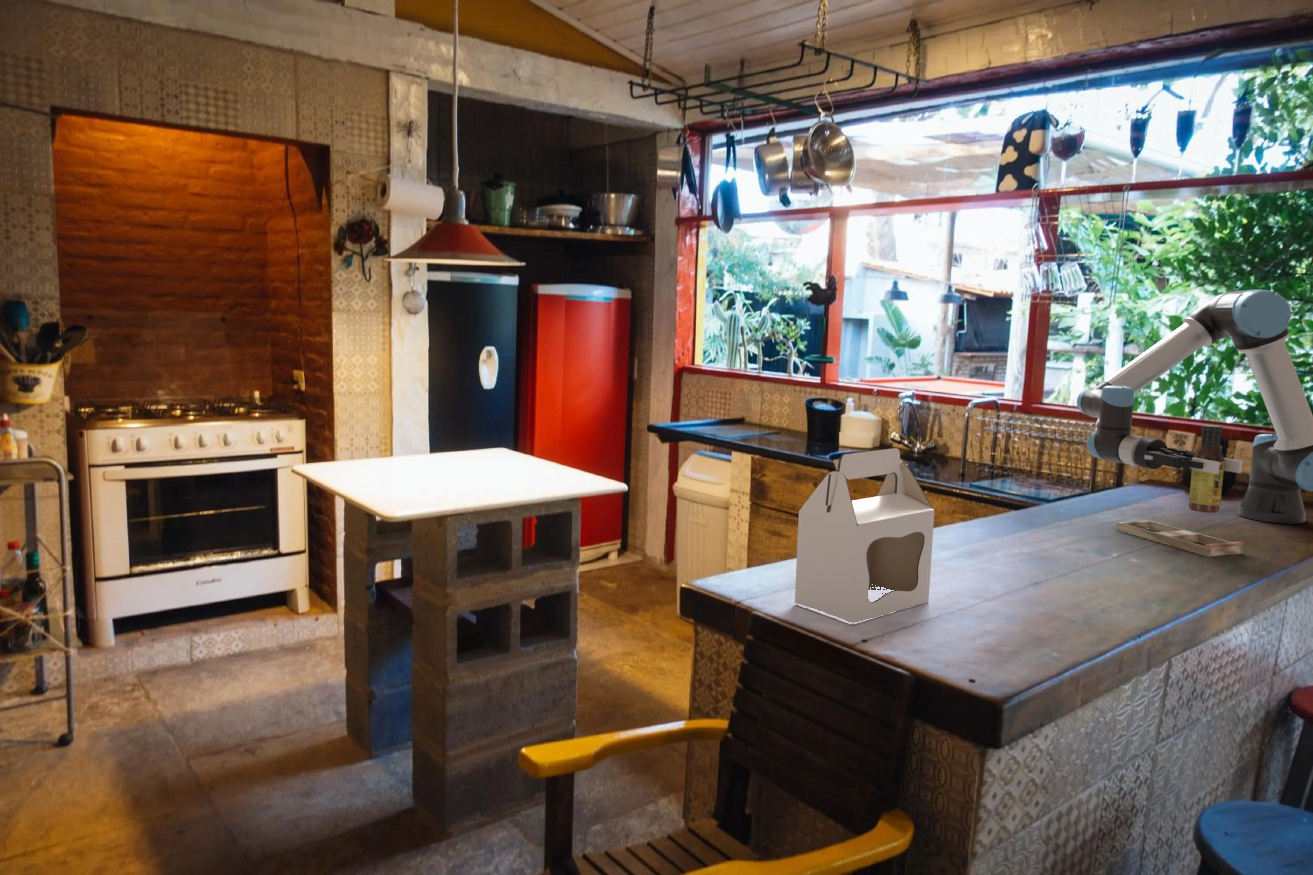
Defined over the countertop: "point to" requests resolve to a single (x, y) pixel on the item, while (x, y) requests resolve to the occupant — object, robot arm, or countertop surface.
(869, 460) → the gable box
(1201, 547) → the bottle rack
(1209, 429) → the sauce bottle
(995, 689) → the countertop surface
